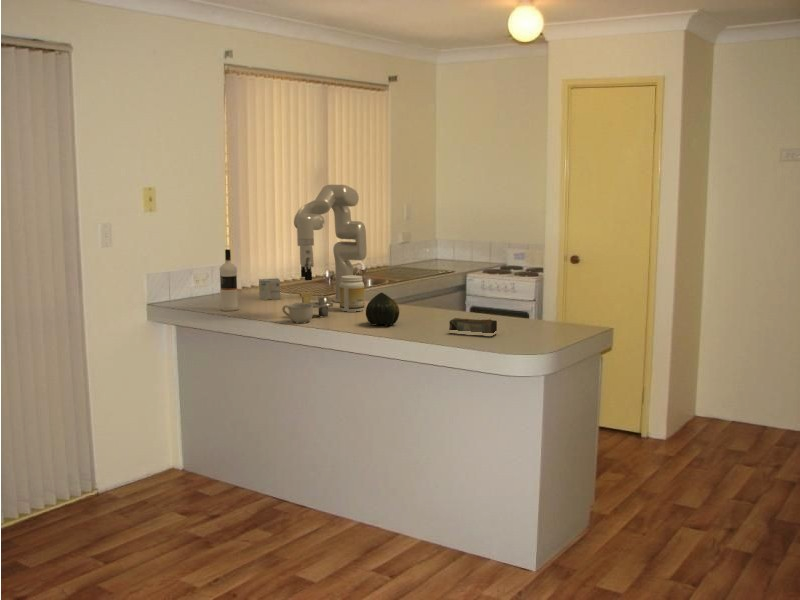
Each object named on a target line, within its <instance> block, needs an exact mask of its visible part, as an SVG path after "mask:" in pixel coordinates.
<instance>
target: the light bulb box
mask: <svg viewBox="0 0 800 600" xmlns="http://www.w3.org/2000/svg"><path fill="white" fill-rule="evenodd" d="M258 289H259V292H258V293H259V300H260V299H261V300H260V301H269V300H268V299H276V300H281V280H280V279H279V278H277V277H276V278H258Z"/></svg>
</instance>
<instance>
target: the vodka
mask: <svg viewBox="0 0 800 600" xmlns="http://www.w3.org/2000/svg"><path fill="white" fill-rule="evenodd" d="M224 253H225V255H224V256H225V258H224V259H225V262H224V263H223V264H221V265H220V267H219V276H220V277H219V280H220V281H219V282H220V290H219V291H220V303H219V310H221V311H223V312H235V310H236V311H238V310H239V307H240V305H239V301H238V300H239V299H238V288H237V287H238V284H237V283H238V279H237V278H238V277H237V276H238V274H237V273H238V268H237V266H236V265H235V264H233V263H232V261H231V259H232V257H231V255H232V254H231V249H229V248H227V249H224Z"/></svg>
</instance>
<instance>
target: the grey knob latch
mask: <svg viewBox="0 0 800 600" xmlns="http://www.w3.org/2000/svg"><path fill="white" fill-rule="evenodd" d="M310 304H312V305H313V309H318V317H319V316H328V317H329V308H332V307H333V306H334V303H333V301H332V302H331V301H329V298H328V296H319V297H318V301H313V302H312V301H310Z"/></svg>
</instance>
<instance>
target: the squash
mask: <svg viewBox="0 0 800 600" xmlns="http://www.w3.org/2000/svg"><path fill="white" fill-rule="evenodd" d="M365 308H366V309H365V317H366V320H367V321H368V323H369V324H370V325H372V324H379V325H384V326H385V325H390V326H392V325H394V324H396V323H397V322H398V320H399V317H400V308H399V305H398V303H397V302H396V301H395V300H394V299H393V298H391V297H390V296H388V295H387V294H386V293H383V292H379V293H378V294H376V295H375V296H374V297H373V298H371V299H370V301H369V302H368V304H367V305H366V307H365ZM391 324H392V325H391Z"/></svg>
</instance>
